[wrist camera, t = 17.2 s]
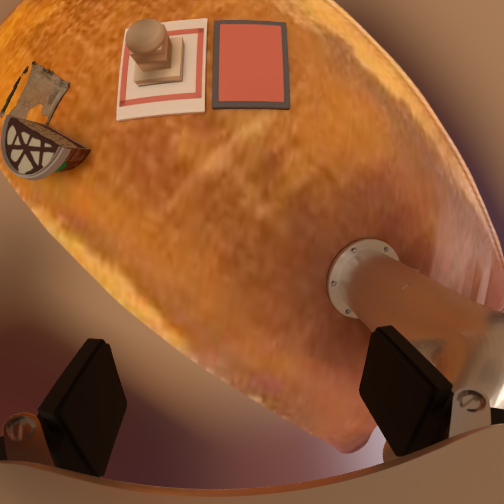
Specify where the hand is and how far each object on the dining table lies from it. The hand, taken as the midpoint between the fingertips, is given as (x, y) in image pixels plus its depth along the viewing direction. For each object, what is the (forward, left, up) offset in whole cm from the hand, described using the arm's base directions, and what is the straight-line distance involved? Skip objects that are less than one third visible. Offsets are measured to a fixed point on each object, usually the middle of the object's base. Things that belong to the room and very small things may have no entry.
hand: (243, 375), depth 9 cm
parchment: (+32, -22, -31) cm, 50 cm away
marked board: (+9, -23, -30) cm, 39 cm away
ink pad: (-3, -23, -30) cm, 38 cm away
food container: (+25, -12, -31) cm, 41 cm away
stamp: (+9, -23, -29) cm, 38 cm away
